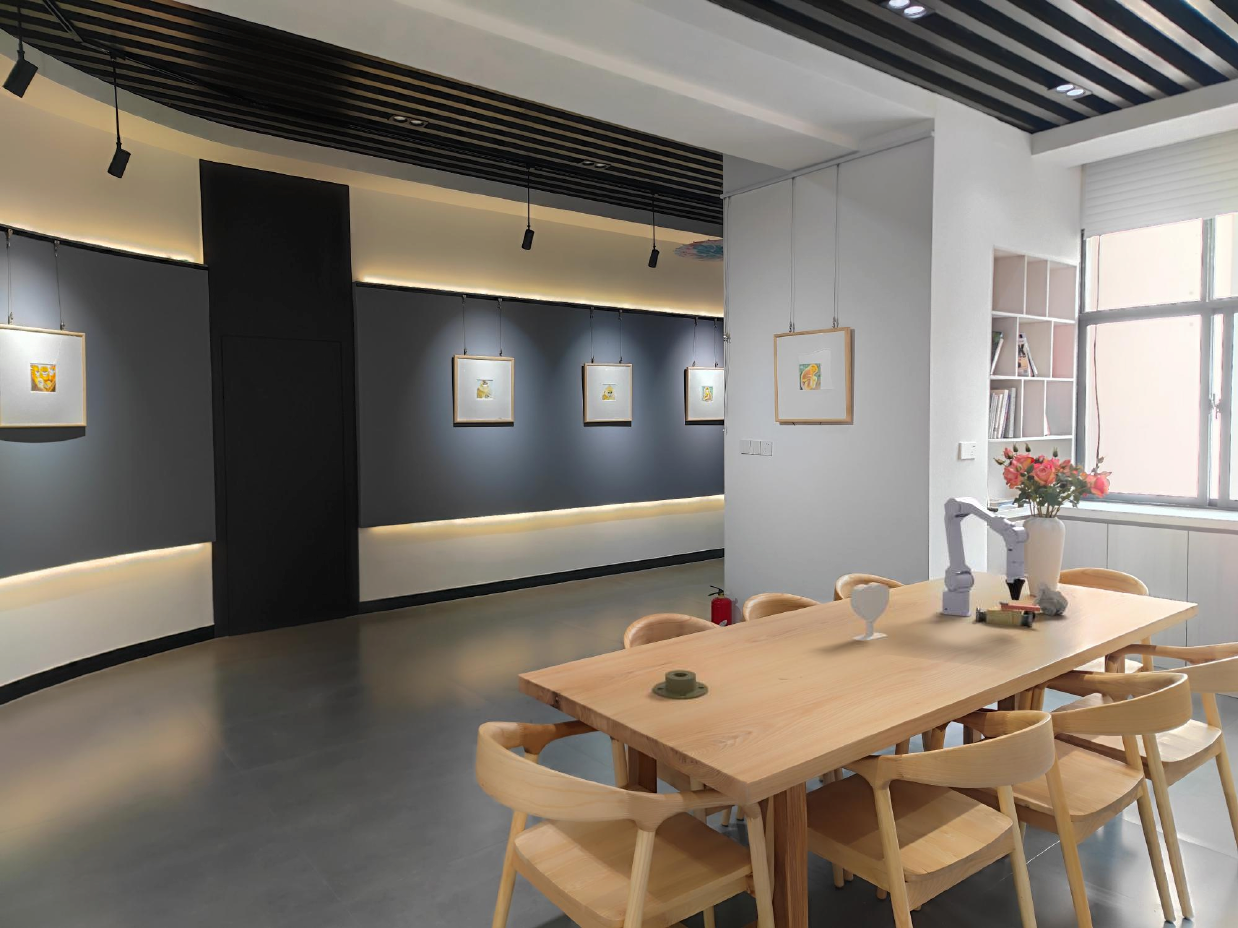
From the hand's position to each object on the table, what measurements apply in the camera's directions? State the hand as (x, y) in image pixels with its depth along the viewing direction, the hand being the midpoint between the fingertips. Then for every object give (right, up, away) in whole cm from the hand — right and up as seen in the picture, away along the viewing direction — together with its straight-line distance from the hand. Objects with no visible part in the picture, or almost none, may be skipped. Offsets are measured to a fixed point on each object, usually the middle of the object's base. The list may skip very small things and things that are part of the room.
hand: (1015, 599), depth 282 cm
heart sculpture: (-53, -11, -8) cm, 55 cm away
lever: (+4, -4, +5) cm, 8 cm away
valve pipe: (0, -11, +8) cm, 13 cm away
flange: (-122, -15, -59) cm, 136 cm away
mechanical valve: (+18, -9, +16) cm, 26 cm away
